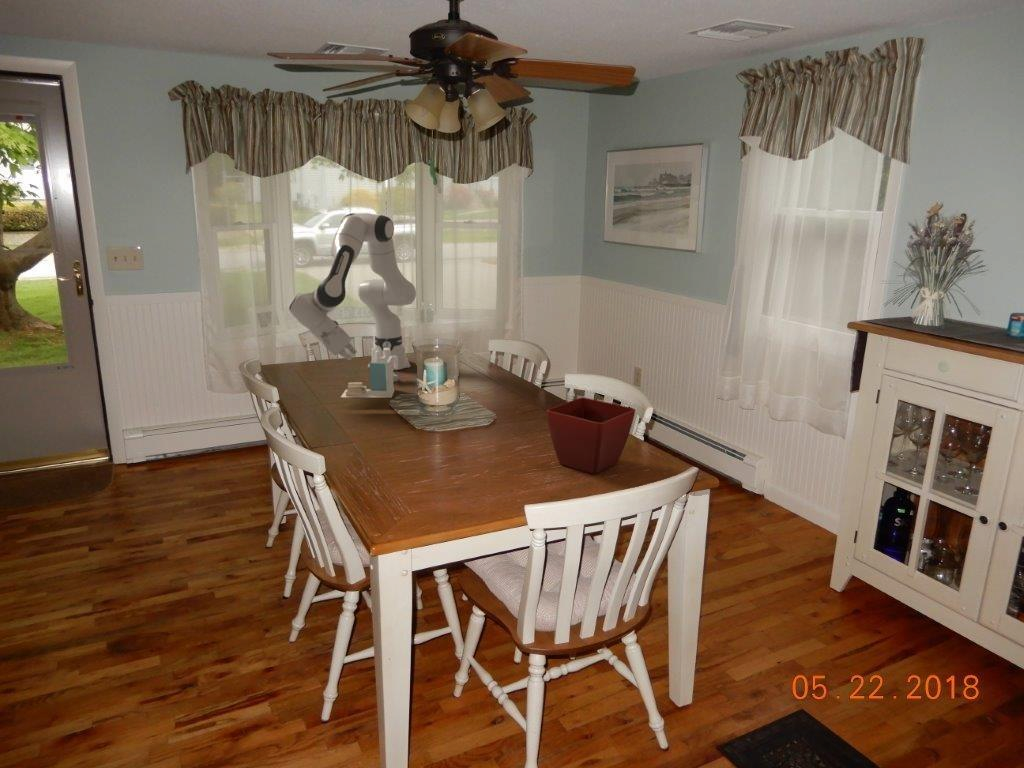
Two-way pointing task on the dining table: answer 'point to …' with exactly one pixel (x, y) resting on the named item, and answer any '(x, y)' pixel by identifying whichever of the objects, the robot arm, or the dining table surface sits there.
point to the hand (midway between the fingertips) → (353, 356)
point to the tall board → (378, 376)
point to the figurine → (385, 358)
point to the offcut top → (355, 386)
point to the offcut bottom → (357, 392)
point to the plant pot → (589, 433)
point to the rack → (390, 386)
